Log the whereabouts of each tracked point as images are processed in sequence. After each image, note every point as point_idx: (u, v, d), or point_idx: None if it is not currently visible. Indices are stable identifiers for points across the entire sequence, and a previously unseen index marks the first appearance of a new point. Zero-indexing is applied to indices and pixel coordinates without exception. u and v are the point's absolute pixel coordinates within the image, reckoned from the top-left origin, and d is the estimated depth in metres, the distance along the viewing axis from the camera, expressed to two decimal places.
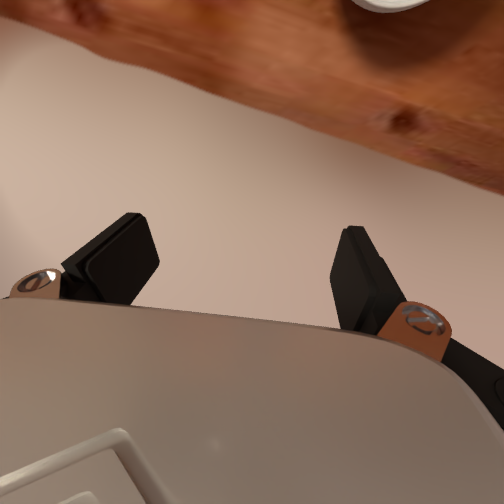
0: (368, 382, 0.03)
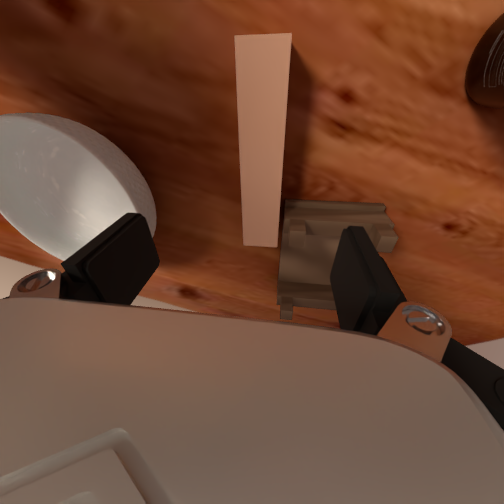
0: (368, 382, 0.03)
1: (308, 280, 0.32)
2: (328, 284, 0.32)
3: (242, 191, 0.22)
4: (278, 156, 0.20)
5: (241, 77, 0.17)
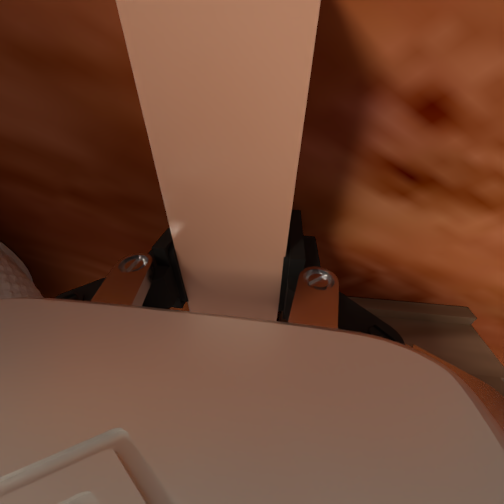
0: (368, 382, 0.03)
1: None
2: None
3: None
4: (271, 263, 0.08)
5: (145, 50, 0.05)
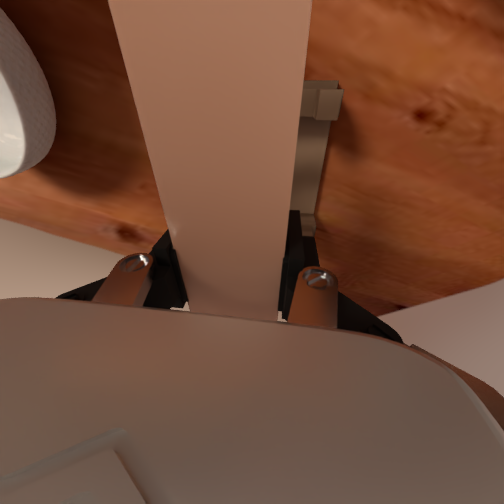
0: (368, 382, 0.03)
1: None
2: None
3: None
4: (270, 263, 0.08)
5: (139, 54, 0.05)
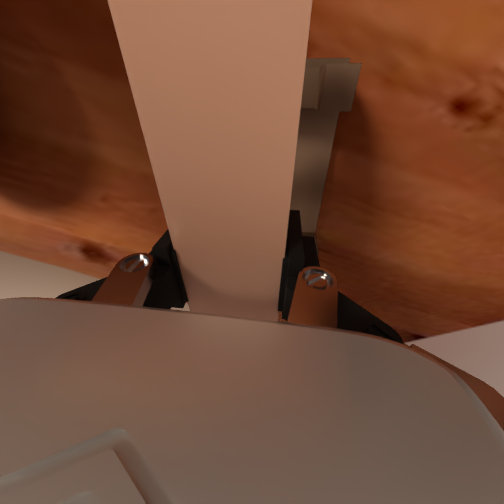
0: (368, 382, 0.03)
1: None
2: None
3: None
4: (271, 264, 0.08)
5: (139, 55, 0.05)
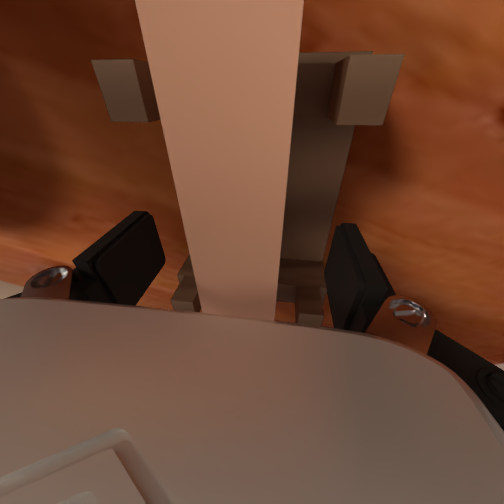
0: (368, 382, 0.03)
1: None
2: None
3: (200, 292, 0.11)
4: (270, 241, 0.09)
5: (161, 57, 0.06)
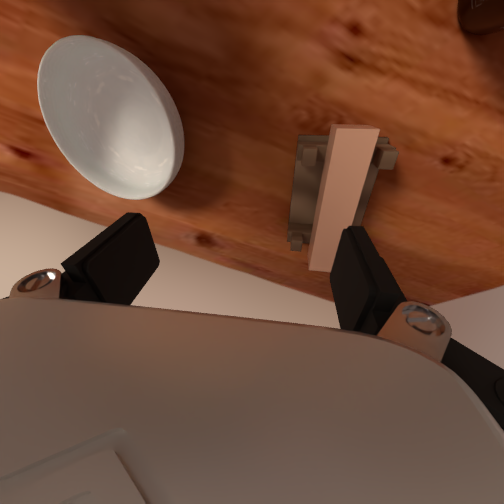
0: (368, 382, 0.03)
1: None
2: None
3: (317, 230, 0.28)
4: (352, 206, 0.26)
5: (335, 154, 0.23)
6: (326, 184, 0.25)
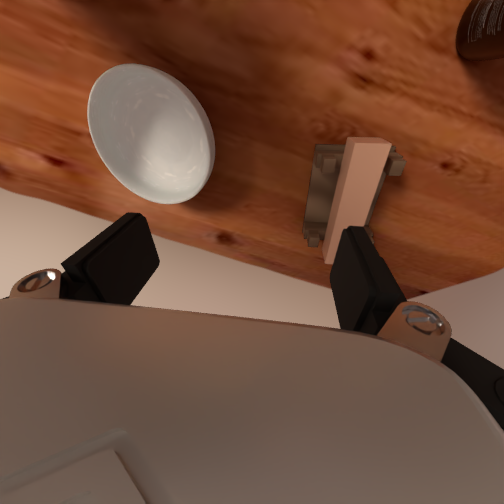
0: (368, 382, 0.03)
1: None
2: None
3: (334, 228, 0.32)
4: (366, 208, 0.30)
5: (353, 164, 0.27)
6: (344, 189, 0.29)
